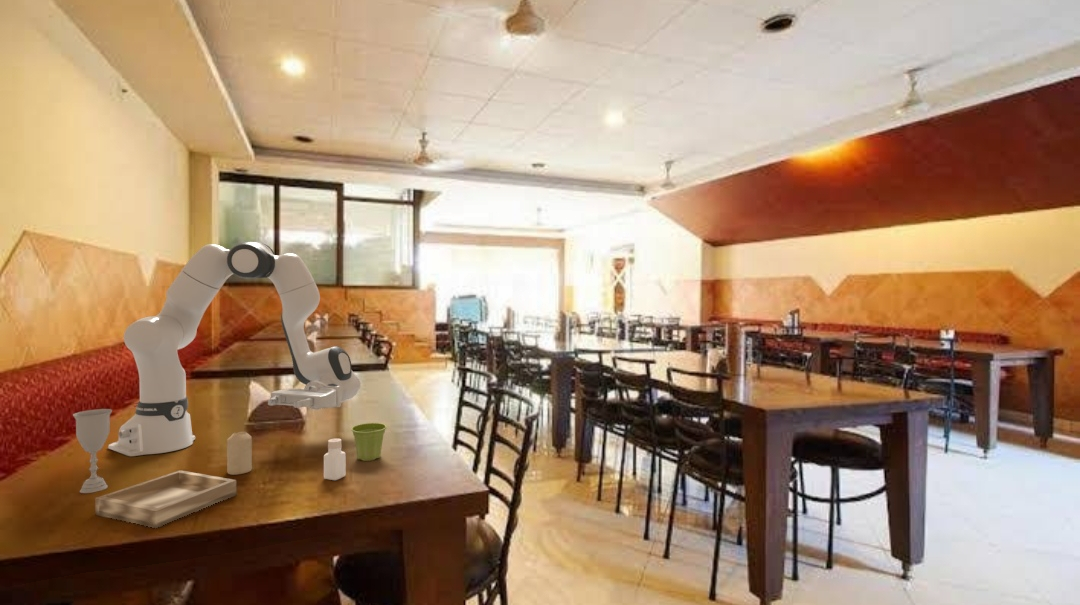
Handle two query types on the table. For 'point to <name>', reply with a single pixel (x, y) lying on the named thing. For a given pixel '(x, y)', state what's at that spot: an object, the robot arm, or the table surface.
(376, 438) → the plant pot
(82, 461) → the table surface
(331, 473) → the salt shaker
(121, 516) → the tray
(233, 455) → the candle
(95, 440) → the chalice
